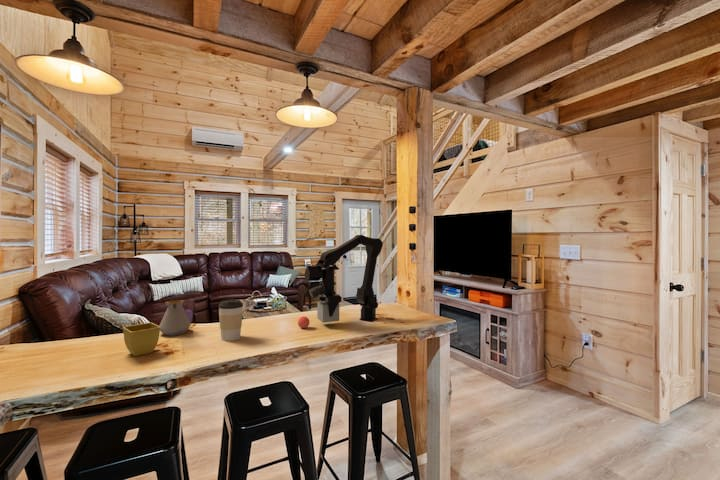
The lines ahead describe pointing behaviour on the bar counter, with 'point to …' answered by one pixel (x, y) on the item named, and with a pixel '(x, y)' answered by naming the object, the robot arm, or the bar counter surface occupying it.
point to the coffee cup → (230, 319)
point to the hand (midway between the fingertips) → (327, 314)
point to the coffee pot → (174, 319)
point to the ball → (303, 322)
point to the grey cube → (326, 312)
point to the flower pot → (141, 338)
